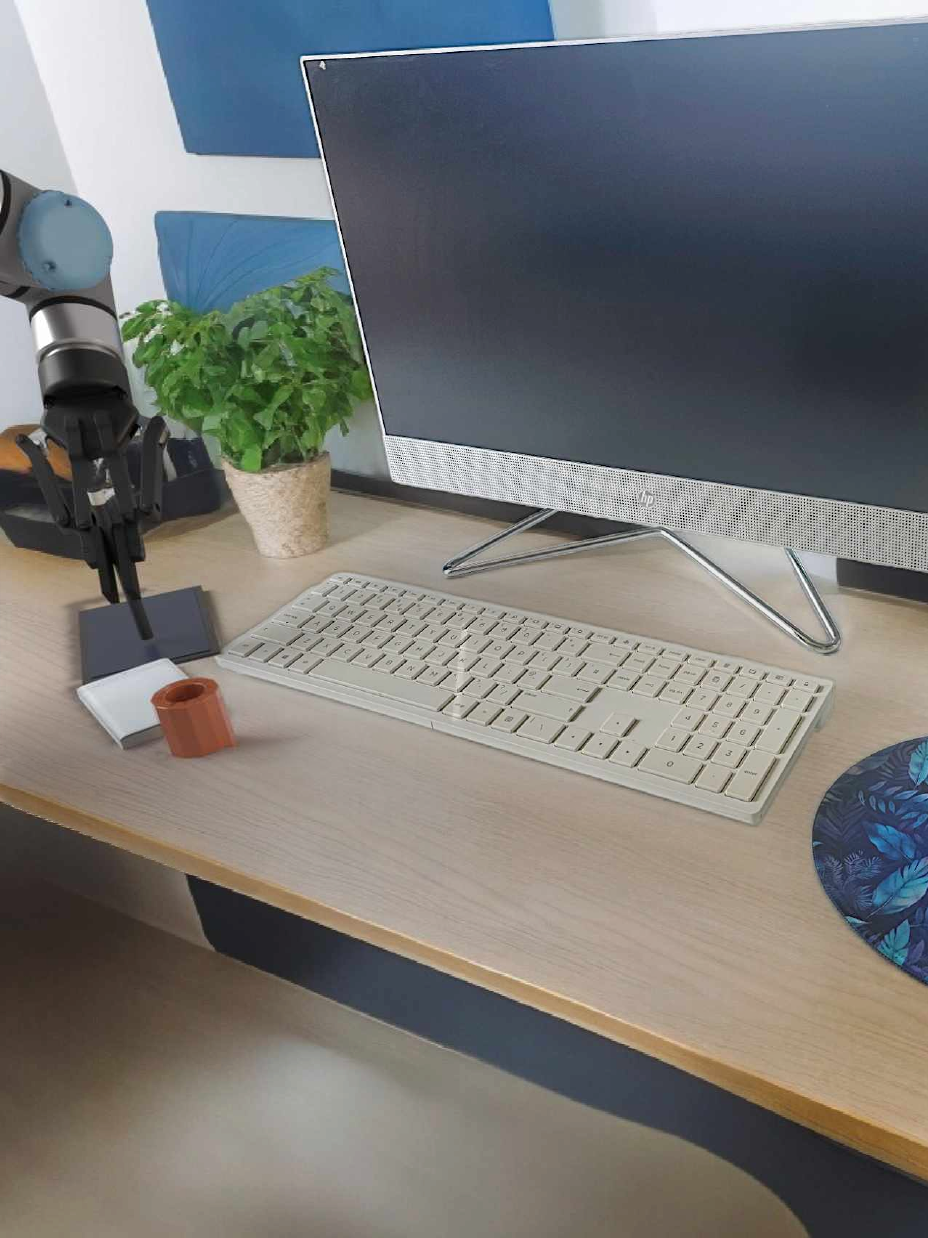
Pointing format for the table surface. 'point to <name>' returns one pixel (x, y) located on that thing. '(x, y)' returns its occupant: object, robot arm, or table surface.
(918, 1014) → the table surface
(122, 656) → the tablet
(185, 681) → the pen holder
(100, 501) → the stylus
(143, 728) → the hard drive
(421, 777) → the table surface
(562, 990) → the table surface
